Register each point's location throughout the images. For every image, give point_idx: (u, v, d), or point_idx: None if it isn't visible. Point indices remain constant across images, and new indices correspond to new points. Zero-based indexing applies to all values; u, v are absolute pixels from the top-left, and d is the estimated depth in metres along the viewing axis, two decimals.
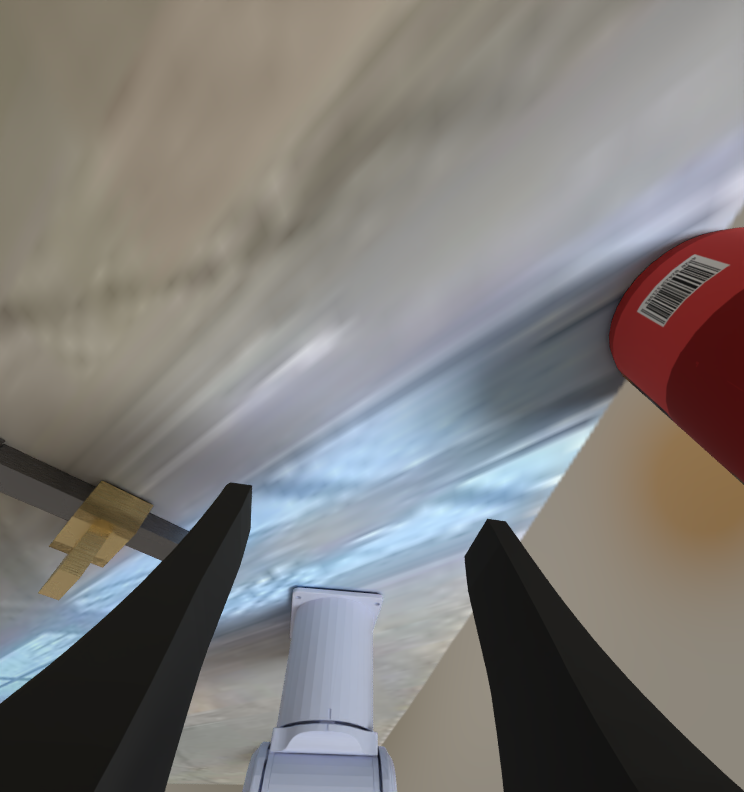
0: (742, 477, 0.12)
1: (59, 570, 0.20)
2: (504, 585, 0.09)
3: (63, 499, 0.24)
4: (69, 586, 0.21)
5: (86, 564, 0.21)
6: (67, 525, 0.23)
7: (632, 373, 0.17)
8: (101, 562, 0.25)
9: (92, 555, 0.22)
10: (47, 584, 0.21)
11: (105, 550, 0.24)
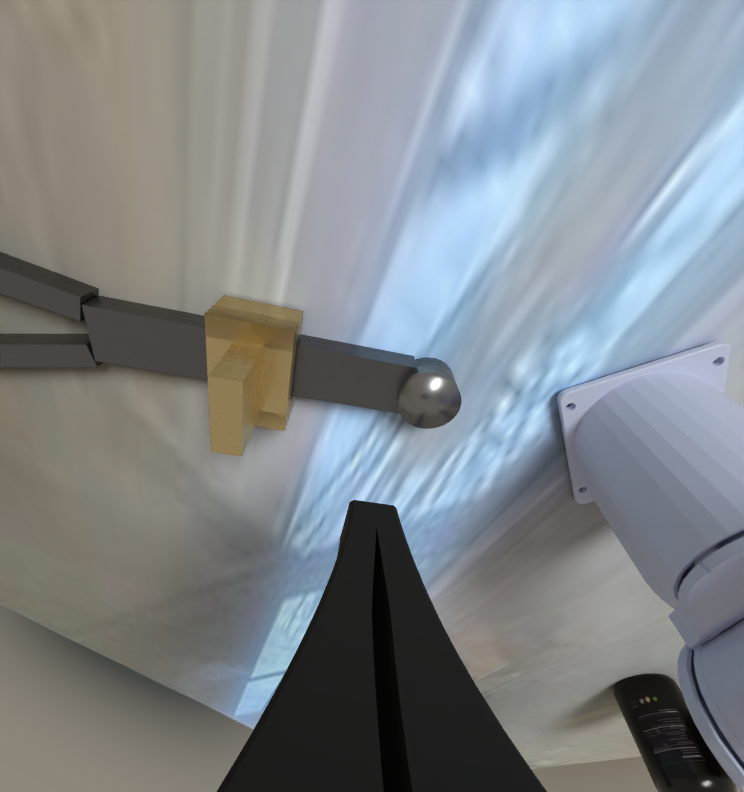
0: None
1: (210, 379, 0.13)
2: (375, 570, 0.09)
3: (192, 339, 0.16)
4: (239, 414, 0.13)
5: (245, 371, 0.13)
6: (209, 361, 0.16)
7: None
8: (279, 421, 0.17)
9: (249, 363, 0.14)
10: (212, 424, 0.14)
11: (273, 392, 0.17)
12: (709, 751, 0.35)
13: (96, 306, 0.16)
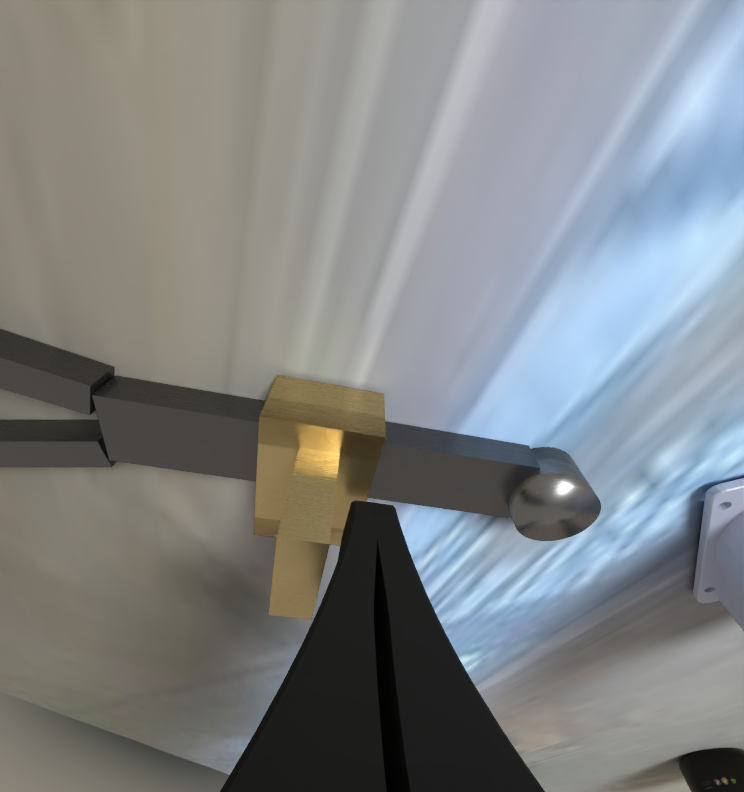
0: None
1: (280, 540, 0.08)
2: None
3: (243, 436, 0.12)
4: (317, 578, 0.09)
5: (327, 516, 0.09)
6: (260, 472, 0.11)
7: None
8: None
9: (329, 497, 0.09)
10: (275, 588, 0.09)
11: (344, 506, 0.12)
12: None
13: (112, 396, 0.11)
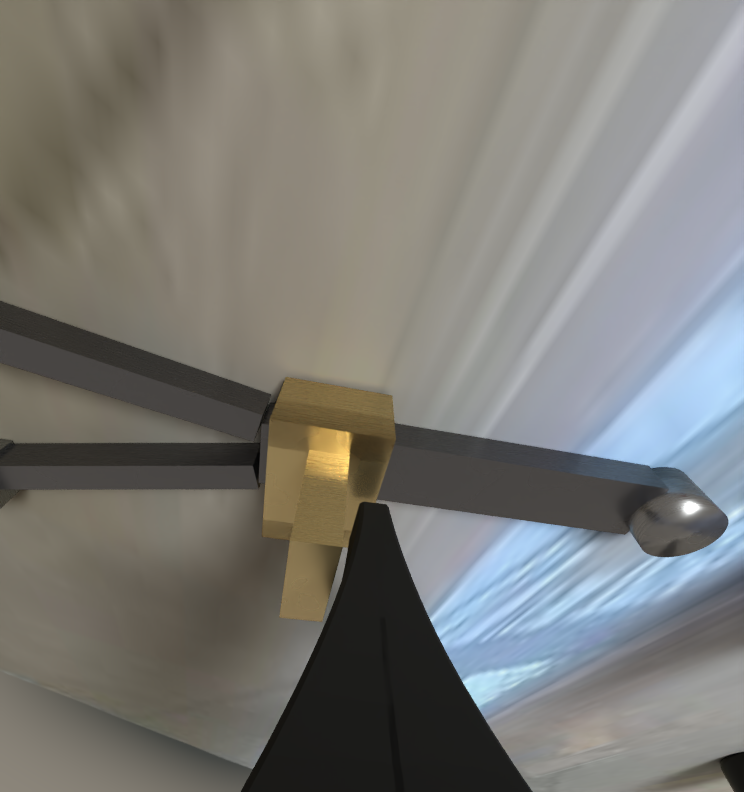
0: None
1: (293, 543, 0.08)
2: None
3: (394, 460, 0.13)
4: (329, 581, 0.09)
5: (339, 519, 0.09)
6: (269, 474, 0.11)
7: None
8: None
9: (340, 500, 0.09)
10: (286, 590, 0.09)
11: (353, 508, 0.12)
12: None
13: None
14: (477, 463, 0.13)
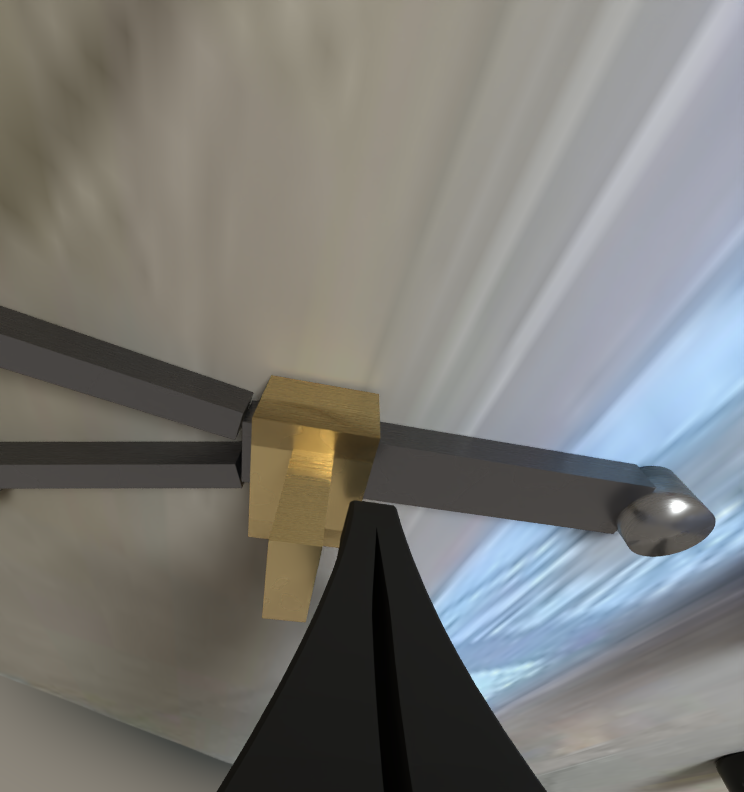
0: None
1: (272, 543, 0.08)
2: (375, 570, 0.09)
3: (377, 459, 0.12)
4: (310, 581, 0.09)
5: (320, 518, 0.09)
6: (253, 473, 0.11)
7: None
8: None
9: (322, 499, 0.09)
10: (268, 591, 0.09)
11: (339, 507, 0.12)
12: None
13: None
14: (461, 461, 0.13)
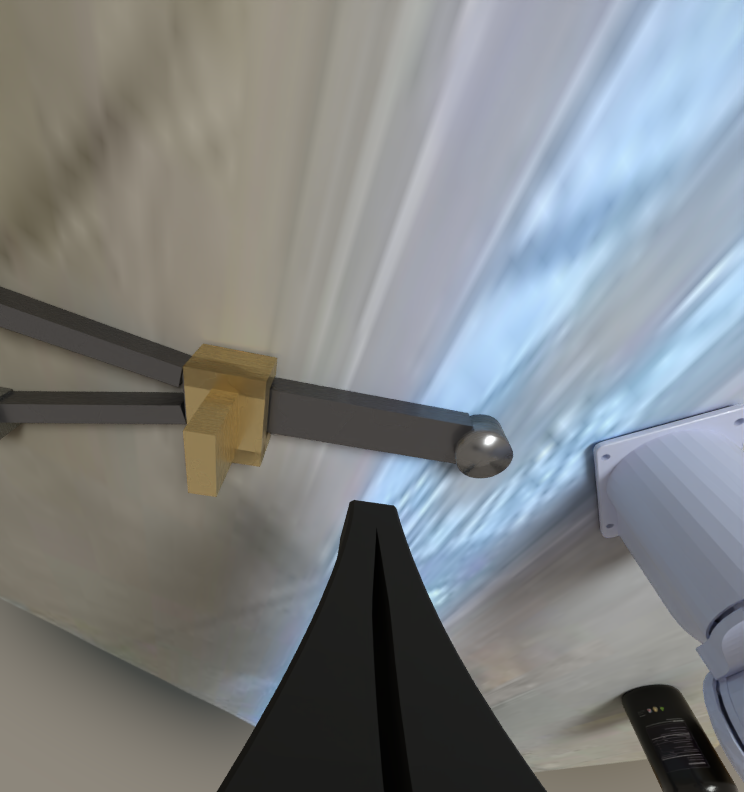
0: None
1: (185, 433, 0.14)
2: (375, 570, 0.09)
3: (277, 402, 0.18)
4: (213, 462, 0.15)
5: (218, 423, 0.15)
6: (188, 406, 0.17)
7: None
8: (254, 458, 0.19)
9: (222, 414, 0.15)
10: (188, 469, 0.15)
11: (248, 433, 0.18)
12: (713, 758, 0.37)
13: None
14: (334, 405, 0.18)
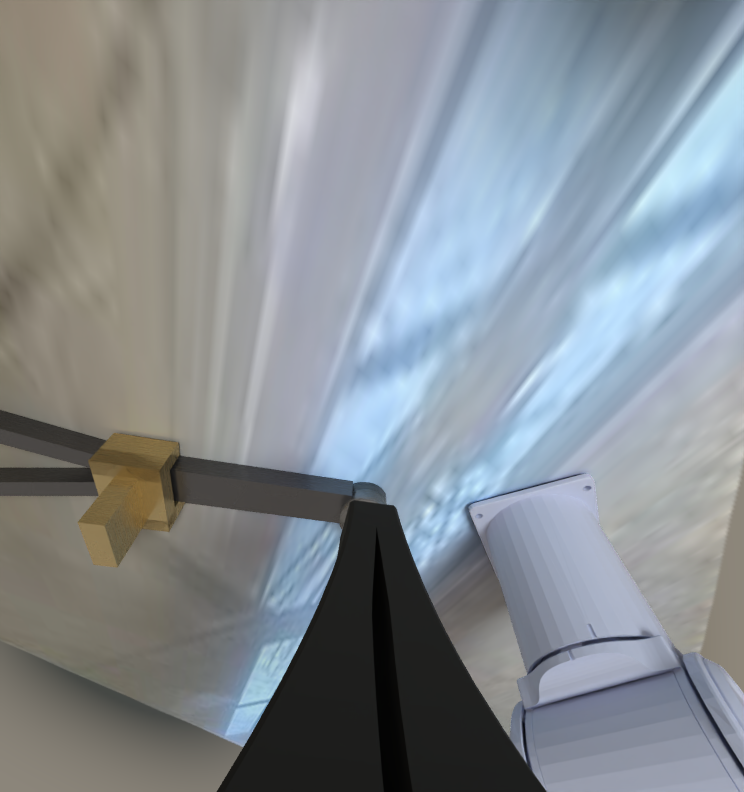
0: None
1: (80, 524, 0.17)
2: (375, 570, 0.09)
3: (179, 479, 0.22)
4: (108, 543, 0.18)
5: (110, 512, 0.18)
6: (98, 488, 0.20)
7: None
8: (163, 525, 0.22)
9: (117, 503, 0.18)
10: (89, 549, 0.18)
11: (153, 507, 0.21)
12: None
13: None
14: (229, 481, 0.22)
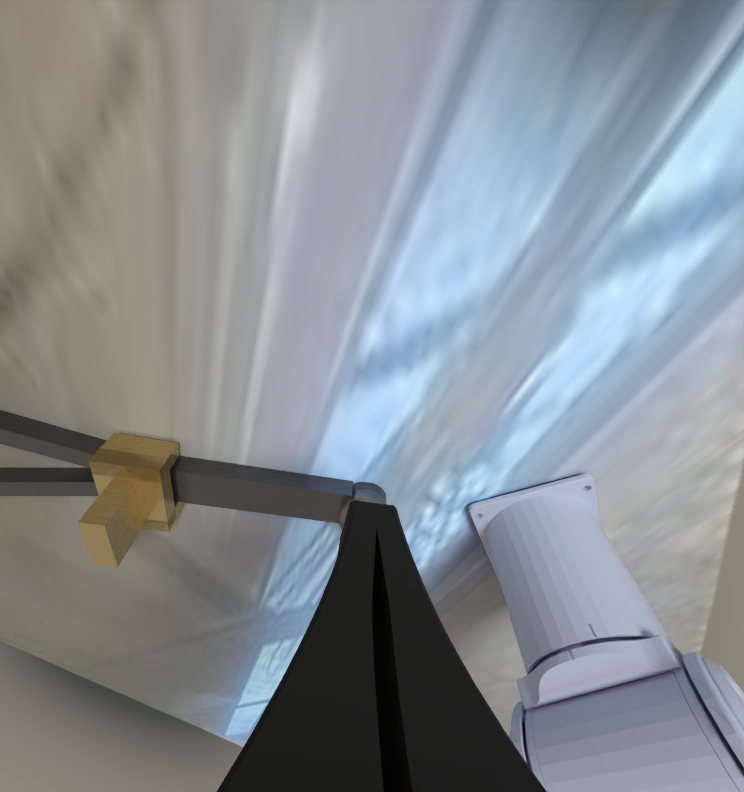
0: None
1: (80, 524, 0.17)
2: (375, 570, 0.09)
3: (179, 479, 0.22)
4: (108, 543, 0.18)
5: (110, 512, 0.18)
6: (98, 488, 0.20)
7: None
8: (163, 525, 0.22)
9: (117, 503, 0.18)
10: (89, 549, 0.18)
11: (153, 507, 0.21)
12: None
13: None
14: (229, 481, 0.22)
